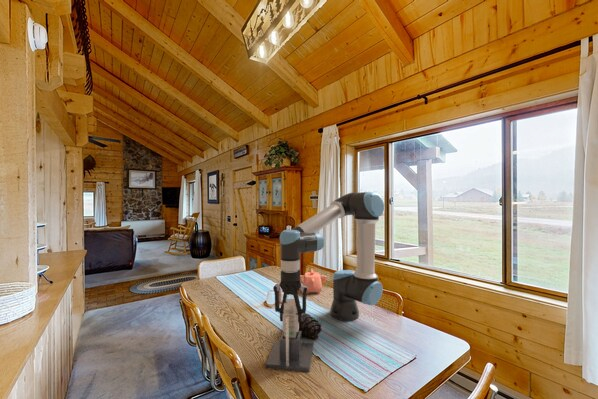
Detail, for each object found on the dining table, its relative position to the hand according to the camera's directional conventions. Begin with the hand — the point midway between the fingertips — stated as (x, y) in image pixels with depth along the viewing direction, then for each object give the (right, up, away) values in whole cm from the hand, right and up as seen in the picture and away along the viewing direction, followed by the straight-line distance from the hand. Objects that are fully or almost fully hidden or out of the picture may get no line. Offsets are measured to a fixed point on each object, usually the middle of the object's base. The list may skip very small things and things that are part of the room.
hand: (290, 329), depth 105 cm
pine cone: (+6, -11, +18) cm, 22 cm away
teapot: (+12, -10, +74) cm, 76 cm away
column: (0, -9, 0) cm, 9 cm away
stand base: (0, -11, 0) cm, 11 cm away
